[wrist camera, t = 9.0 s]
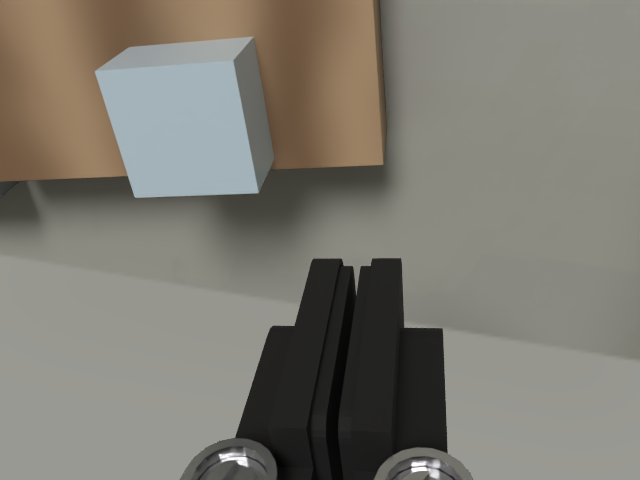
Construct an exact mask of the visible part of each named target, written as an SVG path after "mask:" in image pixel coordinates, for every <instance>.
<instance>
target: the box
mask: <svg viewBox="0 0 640 480" xmlns="http://www.w3.org/2000/svg"><path fill="white" fill-rule="evenodd" d="M18 182H19V181H3V182H0V197H1V196H2V195H4V194H5V193H6V192H7V191H8V190H10V189H11V188H12V187H13V186H14V185H15V184H17V183H18Z"/></svg>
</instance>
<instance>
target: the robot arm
mask: <svg viewBox="0 0 640 480" xmlns="http://www.w3.org/2000/svg"><path fill="white" fill-rule="evenodd" d="M180 480H473V478H472V476H471V473H470V472H469V471H468V470H467V469H466V468H465V466H464V465H463V464H462V463H461V462H460V461H458V460H457V459H456V458H454V457H452V456H451V455H449V454H448V453H447V427H446V402H445V377H444V351H443V329H441V328H404V311H403V286H402V262H401V258H379V259H372V262H371V266H361V269H360V275H359V282H358V289H357V295H356V290H355V279H354V269H353V266H343V261H342V259H313V260H312V263H311V266H310V270H309V274H308V278H307V281H306V285H305V289H304V293H303V296H302V300H301V304H300V308H299V312H298V315H297V319H296V323H295V326H272V327H271V328H270V331H269V333H268V336H267V339H266V342H265V345H264V348H263V351H262V355H261V358H260V361H259V364H258V367H257V370H256V374H255V377H254V380H253V383H252V387H251V390H250V393H249V396H248V399H247V402H246V405H245V408H244V412H243V415H242V418H241V421H240V424H239V427H238V431H237V434H236V437H235V438H232V439H227V440H223V441H219V442H217V443H215V444H213V445H210V446H208V447H206V448H205V449H204V450H203V451H201V452H200V453H199V454H198V455H196V456H195V457H194V458H193V460H192V461H191V462H190V464H189V465H188V466H187V468H186V469H185V471H184V473H183V475H182V477H181V478H180Z"/></svg>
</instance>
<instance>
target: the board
mask: <svg viewBox="0 0 640 480" xmlns="http://www.w3.org/2000/svg"><path fill="white" fill-rule="evenodd" d="M242 37H254V41H255V47H256V53H257V59H258V65H259V70H260V76H261V82H262V88H263V94H264V100H265V106H266V112H267V118H268V124H269V129H270V135H271V141H272V147H273V153H274V161H273V163H272V165H271V167H270V170H276V169H299V168H322V167H345V166H367V165H383V163H384V154H385V145H386V135H387V123H386V106H385V88H384V71H383V54H382V36H381V19H380V2H379V0H0V182H3V181H25V180H48V179H71V178H94V177H117V176H128V175H127V171H126V168H125V165H124V162H123V159H122V156H121V153H120V149H119V146H118V143H117V140H116V137H115V134H114V131H113V127H112V124H111V121H110V118H109V115H108V112H107V109H106V105H105V102H104V99H103V96H102V93H101V90H100V87H99V84H98V80H97V77H96V74H95V71H96V70H97V69H98V68H100V67H101V66H103V65H104V64H106V63H107V62H109V61H110V60H111V59H113V58H114V57H116V56H117V55H119V54H120V53H121V52H123V51H124V50H126V49H127V48H129V47H136V46H148V45H159V44H171V43H183V42H195V41H207V40H219V39H230V38H242Z"/></svg>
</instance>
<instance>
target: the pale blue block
mask: <svg viewBox="0 0 640 480" xmlns="http://www.w3.org/2000/svg"><path fill="white" fill-rule="evenodd" d="M95 74H96V77H97V80H98V84H99V87H100V90H101V93H102V96H103V99H104V102H105V105H106V109H107V112H108V115H109V118H110V121H111V124H112V127H113V131H114V134H115V137H116V140H117V143H118V146H119V149H120V153H121V156H122V159H123V162H124V165H125V168H126V171H127V175H128V178H129V181H130V184H131V187H132V190H133V193H134V197H135V198H143V197H170V196H198V195H225V194H252V193H259V191H260V189H261V187H262V185H263V183H264V180H265V178H266V176H267V174H268V172H269V170H270V167H271V165H272V163H273V161H274V153H273V147H272V141H271V135H270V129H269V124H268V118H267V112H266V106H265V100H264V94H263V88H262V82H261V76H260V70H259V65H258V59H257V53H256V47H255V41H254V37H242V38H230V39H219V40H207V41H195V42H183V43H171V44H159V45H148V46H136V47H129V48H127V49H126V50H124V51H123V52H121V53H120V54H119V55H117V56H116V57H114V58H113V59H111V60H110V61H109V62H107V63H106V64H104V65H103V66H101V67H100V68H98V69H97V70H96V71H95Z"/></svg>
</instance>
